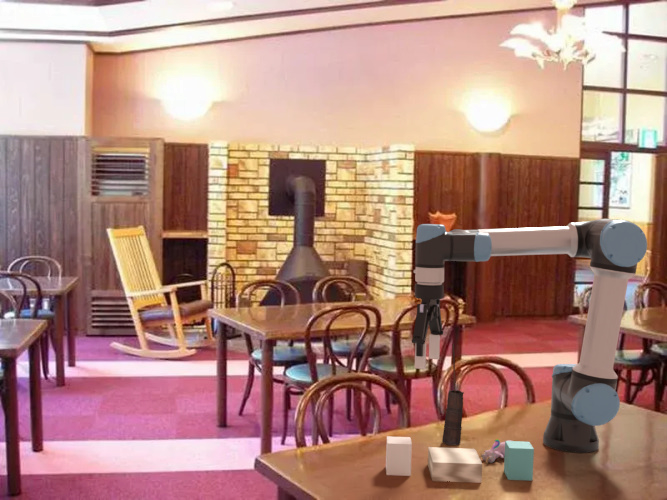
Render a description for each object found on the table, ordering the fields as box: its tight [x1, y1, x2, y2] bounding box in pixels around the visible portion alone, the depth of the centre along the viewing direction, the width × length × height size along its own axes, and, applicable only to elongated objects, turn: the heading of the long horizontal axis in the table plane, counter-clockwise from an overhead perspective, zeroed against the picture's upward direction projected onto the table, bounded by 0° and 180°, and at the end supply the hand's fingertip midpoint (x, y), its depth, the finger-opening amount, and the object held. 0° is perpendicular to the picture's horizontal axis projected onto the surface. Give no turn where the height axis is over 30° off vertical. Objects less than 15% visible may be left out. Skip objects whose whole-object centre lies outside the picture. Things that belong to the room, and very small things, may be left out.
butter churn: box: [441, 343, 465, 446], centre depth 233 cm, size 9×10×28 cm
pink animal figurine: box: [478, 438, 512, 464], centre depth 222 cm, size 6×6×15 cm
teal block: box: [503, 440, 535, 482], centre depth 208 cm, size 6×6×8 cm
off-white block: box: [385, 435, 413, 477], centre depth 209 cm, size 6×6×8 cm
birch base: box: [427, 446, 483, 484], centre depth 209 cm, size 12×12×5 cm
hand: (427, 363), depth 219 cm, fingers open, 13 cm apart
